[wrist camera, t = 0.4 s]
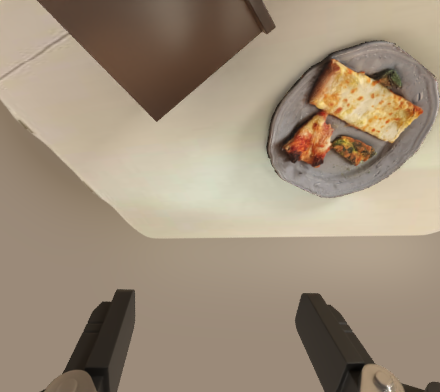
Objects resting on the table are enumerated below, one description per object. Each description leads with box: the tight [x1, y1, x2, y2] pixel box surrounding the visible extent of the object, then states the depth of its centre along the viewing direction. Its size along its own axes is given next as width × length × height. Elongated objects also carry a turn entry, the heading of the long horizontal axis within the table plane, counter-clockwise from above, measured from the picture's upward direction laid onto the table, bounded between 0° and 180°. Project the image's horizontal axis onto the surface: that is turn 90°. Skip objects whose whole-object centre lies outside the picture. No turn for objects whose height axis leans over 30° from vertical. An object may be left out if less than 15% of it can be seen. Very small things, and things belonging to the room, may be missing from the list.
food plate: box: [267, 40, 440, 198], centre depth 39 cm, size 25×23×4 cm
